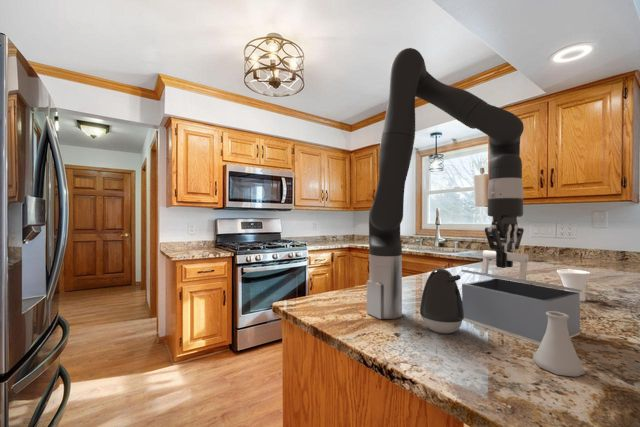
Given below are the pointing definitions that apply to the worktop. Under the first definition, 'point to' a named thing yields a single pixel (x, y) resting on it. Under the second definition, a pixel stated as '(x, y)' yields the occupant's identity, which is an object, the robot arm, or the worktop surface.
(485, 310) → the carton
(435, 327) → the pump dispenser
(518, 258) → the lid flap
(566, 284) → the cup
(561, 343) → the flask
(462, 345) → the worktop surface
